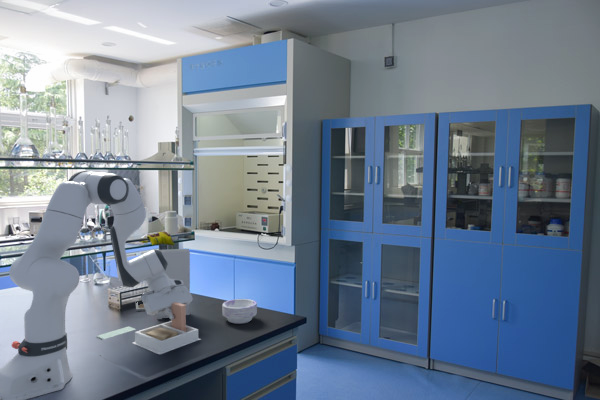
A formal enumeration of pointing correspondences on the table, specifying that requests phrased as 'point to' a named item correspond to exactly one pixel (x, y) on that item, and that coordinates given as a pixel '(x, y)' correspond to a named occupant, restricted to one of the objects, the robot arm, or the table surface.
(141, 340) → the white divided tray
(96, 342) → the table surface
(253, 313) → the paper bowls
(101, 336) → the sage mat
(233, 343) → the table surface
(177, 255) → the brochure
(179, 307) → the terracotta board
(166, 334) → the offcut upper
